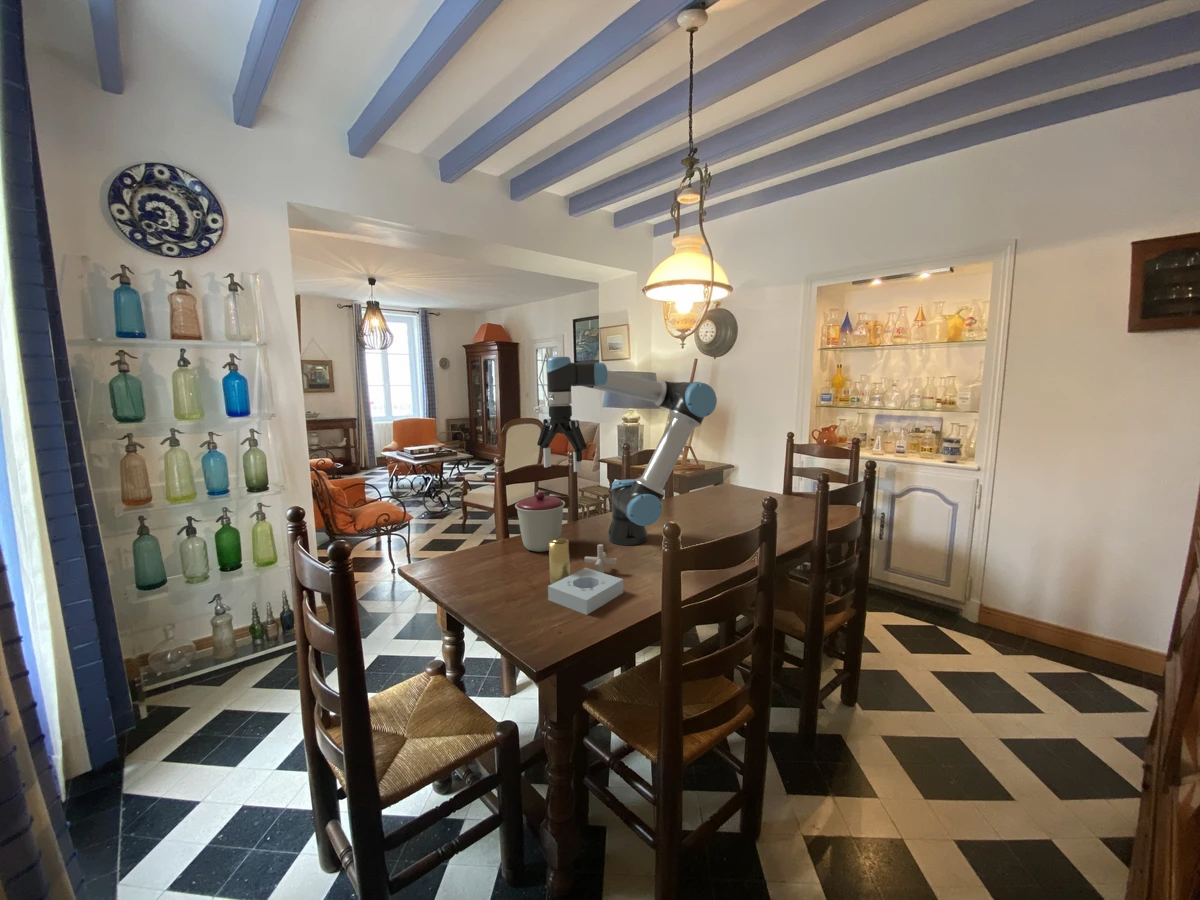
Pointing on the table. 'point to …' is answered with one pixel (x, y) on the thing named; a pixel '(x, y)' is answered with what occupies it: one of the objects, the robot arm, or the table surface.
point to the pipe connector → (600, 559)
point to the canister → (540, 520)
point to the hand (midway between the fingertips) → (562, 469)
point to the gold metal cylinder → (559, 559)
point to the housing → (585, 590)
